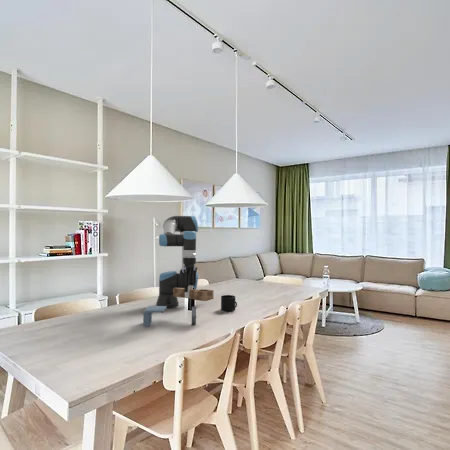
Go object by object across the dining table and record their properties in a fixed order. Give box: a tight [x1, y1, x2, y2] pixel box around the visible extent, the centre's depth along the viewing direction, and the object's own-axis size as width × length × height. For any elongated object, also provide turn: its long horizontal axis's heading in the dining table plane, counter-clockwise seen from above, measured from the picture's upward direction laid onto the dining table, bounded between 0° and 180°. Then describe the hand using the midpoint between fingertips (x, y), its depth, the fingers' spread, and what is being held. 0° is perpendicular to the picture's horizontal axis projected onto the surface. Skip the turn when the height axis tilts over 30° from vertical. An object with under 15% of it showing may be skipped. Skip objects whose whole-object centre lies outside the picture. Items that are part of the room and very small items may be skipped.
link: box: [173, 287, 214, 302], centre depth 195 cm, size 25×8×5 cm, turn 60°
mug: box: [220, 294, 238, 313], centre depth 217 cm, size 9×12×9 cm
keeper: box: [142, 305, 168, 328], centre depth 184 cm, size 11×11×9 cm
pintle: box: [191, 305, 197, 326], centre depth 184 cm, size 2×2×10 cm
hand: (189, 296), depth 196 cm, fingers closed on link, 3 cm apart
